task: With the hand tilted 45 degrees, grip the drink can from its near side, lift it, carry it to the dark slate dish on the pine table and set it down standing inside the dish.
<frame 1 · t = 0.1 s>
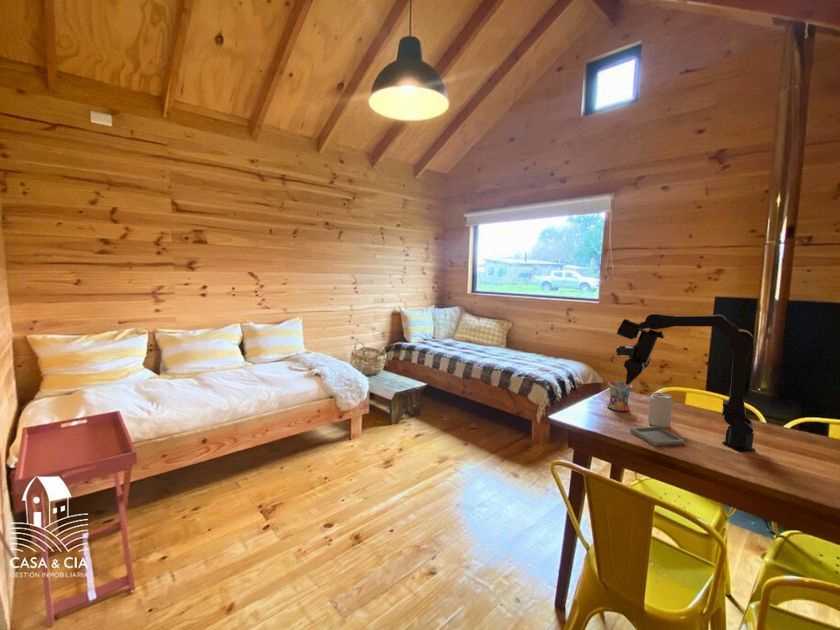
hand: (629, 381, 150), 15 cm above the table, tool pointing down, fingers open, 9 cm apart
slate dish: (656, 437, 136), on the table
can: (658, 425, 148), on the table
mug: (619, 408, 165), on the table
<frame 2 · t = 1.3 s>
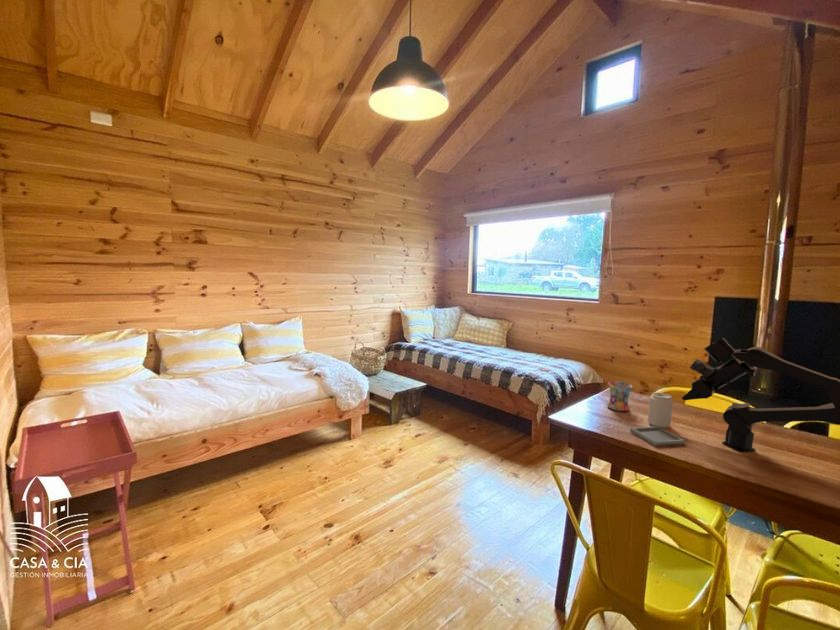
hand: (685, 396, 140), 13 cm above the table, tool tilted 45°, fingers open, 9 cm apart
nothing on the table moved.
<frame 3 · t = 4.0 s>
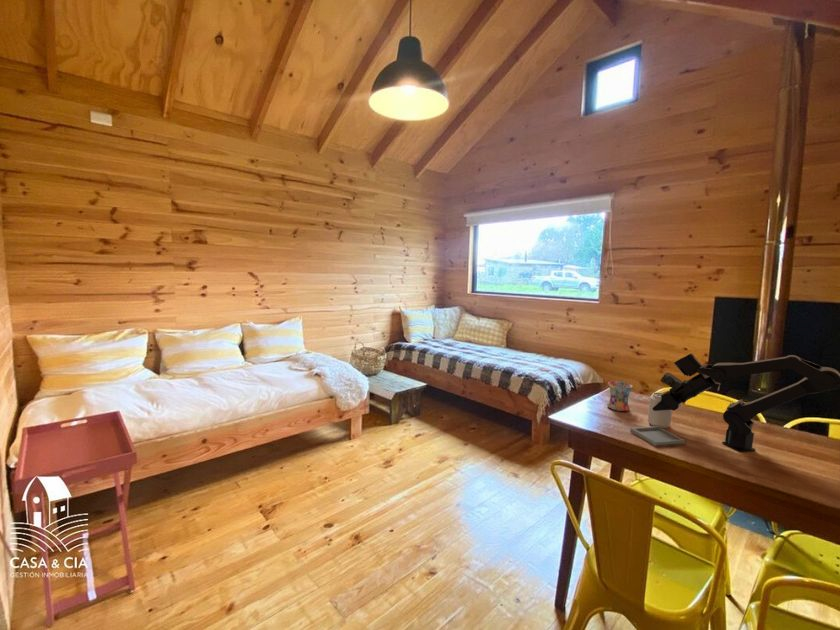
hand: (656, 407, 148), 7 cm above the table, tool tilted 45°, fingers closed on can, 7 cm apart
can: (658, 425, 148), on the table, touching gripper
everything else where it was.
when the fingers open (8 cm above the table, at t = 7.9 s): can stays where it is, resting on slate dish.
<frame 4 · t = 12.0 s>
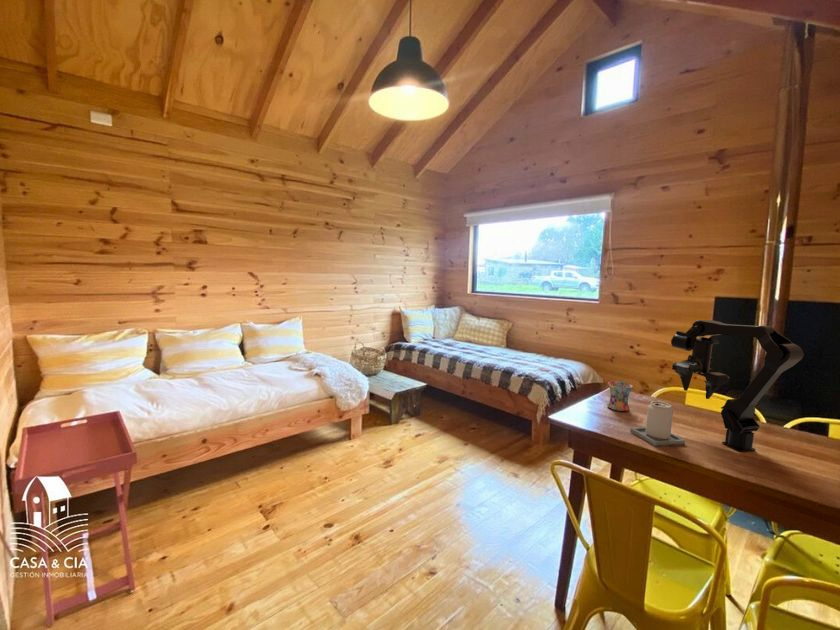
hand: (696, 394, 144), 13 cm above the table, tool pointing down, fingers open, 9 cm apart
can: (657, 436, 136), resting on slate dish
everything else where it was.
at the end: can 0.2 cm from the slate dish (horizontally); can tilted 0°; the gripper is holding nothing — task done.
